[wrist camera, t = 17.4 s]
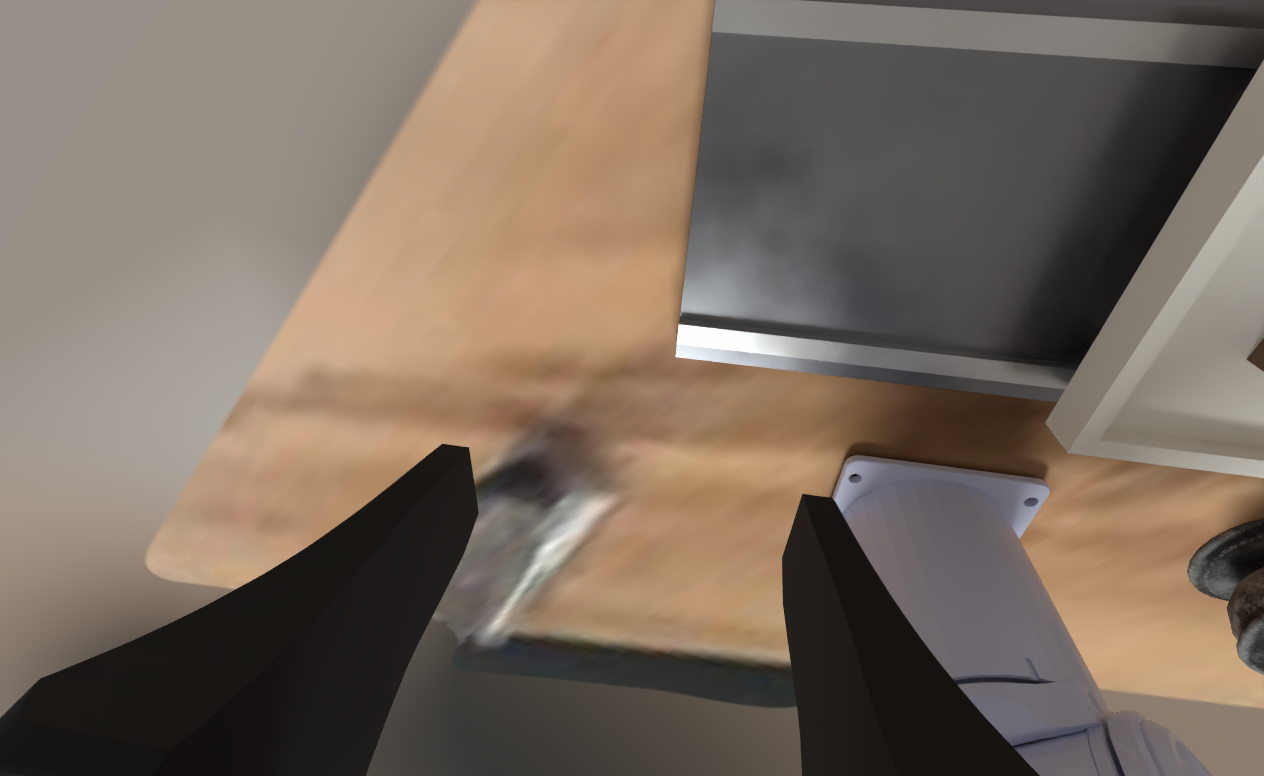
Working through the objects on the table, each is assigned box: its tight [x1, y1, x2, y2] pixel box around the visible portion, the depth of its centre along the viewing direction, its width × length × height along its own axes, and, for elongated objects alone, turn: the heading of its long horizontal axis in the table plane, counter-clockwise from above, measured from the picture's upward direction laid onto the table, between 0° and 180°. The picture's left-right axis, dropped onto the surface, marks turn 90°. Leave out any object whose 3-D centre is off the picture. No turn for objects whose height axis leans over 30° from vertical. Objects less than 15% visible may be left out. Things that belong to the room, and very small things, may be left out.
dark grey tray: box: [676, 0, 1264, 402], centre depth 16 cm, size 12×24×2 cm, turn 87°
